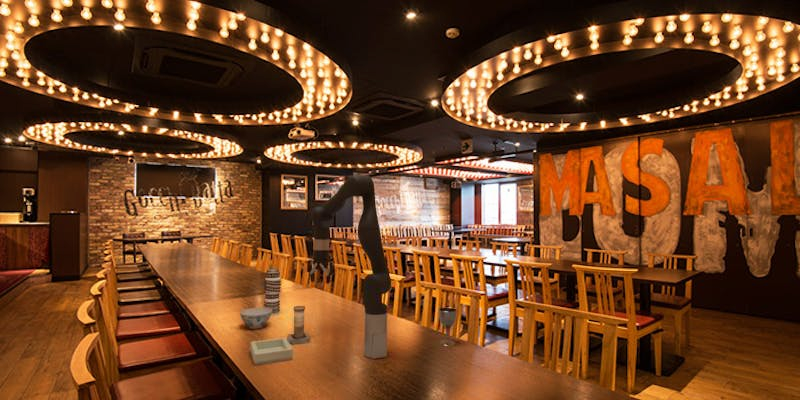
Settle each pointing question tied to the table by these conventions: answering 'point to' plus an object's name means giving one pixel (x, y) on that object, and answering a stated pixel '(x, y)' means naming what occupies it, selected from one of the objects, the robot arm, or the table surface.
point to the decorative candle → (272, 291)
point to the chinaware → (255, 317)
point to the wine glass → (447, 322)
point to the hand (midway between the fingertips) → (320, 282)
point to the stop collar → (298, 339)
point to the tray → (271, 351)
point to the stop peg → (299, 322)
